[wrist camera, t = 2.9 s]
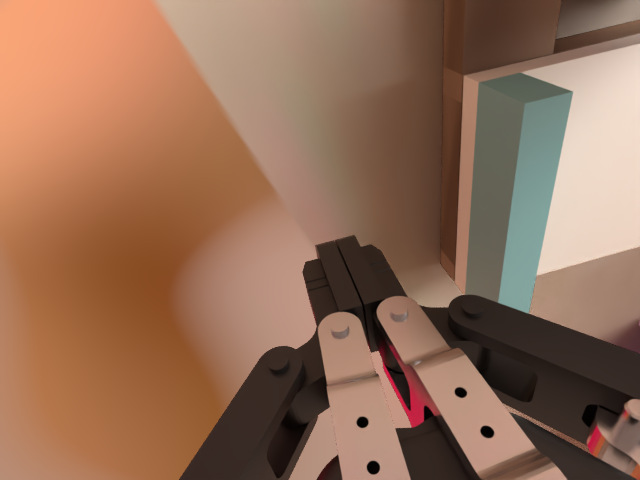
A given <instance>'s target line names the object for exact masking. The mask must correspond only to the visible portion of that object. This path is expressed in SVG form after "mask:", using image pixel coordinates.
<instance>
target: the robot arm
mask: <svg viewBox="0 0 640 480" xmlns="http://www.w3.org/2000/svg"><path fill="white" fill-rule="evenodd" d="M315 247H316V252H317V257H318V259H315V260H312V261H307V262H305V265H304V269H303V276H304V280H305V284H306V288H307V292H308V296H309V300H310V304H311V307H312V311H313V314H314V318H315V321H316V325H317V328H316V332H315V334H314V335H313V337H312V338H311V339H310V340H309V341H308V342H307V343H305V344H304V345H302V346H301V347H299V348H298V349H294V348H292V347H288V346H279V347H275V348H273V349H271V350H269V351H267V352H266V353H265V354H264V355H263V356H262V357H261V358H260V359H259V361H258V362H257V364H256V365H255V367H254V368H253V370H252V371H251V373H250V374H249V376H248V377H247V379H246V380H245V382H244V383H243V385H242V386H241V388H240V389H239V391H238V392H237V394H236V395H235V397H234V398H233V400H232V401H231V403H230V404H229V406H228V407H227V409H226V410H225V412H224V413H223V415H222V416H221V418H220V419H219V421H218V422H217V424H216V425H215V427H214V428H213V430H212V431H211V433H210V434H209V436H208V437H207V439H206V440H205V442H204V443H203V445H202V446H201V448H200V449H199V451H198V452H197V454H196V455H195V457H194V458H193V460H192V461H191V463H190V464H189V466H188V467H187V469H186V470H185V472H184V473H183V475H182V476H181V478H180V479H179V480H288V479H289V478H290V475H291V473H292V471H293V469H294V467H295V465H296V463H297V461H298V459H299V457H300V455H301V453H302V451H303V449H304V447H305V445H306V442H307V440H308V438H309V436H310V434H311V432H312V430H313V428H314V426H315V424H316V421H317V418H318V415H319V414H320V413H322V412H323V411H324V410H326V409H328V408H329V407H330V410H331V416H332V421H333V426H334V432H335V438H336V444H337V450H338V455H337V456H336V457H334V458H333V459H332V460H331V461H330V462H329V463H328V464H327V465H326V467H325V468H324V469H323V470H322V472H321V473H320V475H319V477H318V478H317V480H640V354H638V353H636V352H633V351H630V350H627V349H625V348H622V347H619V346H616V345H614V344H611V343H608V342H605V341H602V340H600V339H597V338H594V337H591V336H589V335H586V334H583V333H580V332H578V331H575V330H572V329H569V328H567V327H564V326H561V325H558V324H556V323H553V322H550V321H547V320H545V319H542V318H539V317H536V316H534V315H531V314H528V313H525V312H523V311H520V310H517V309H514V308H511V307H509V306H506V305H503V304H500V303H498V302H495V301H492V300H489V299H487V298H484V297H481V296H478V295H470V294H469V295H461V296H458V297H456V298H455V299H453V300H452V301H451V302H450V304H449V307H444V308H430V307H424V306H420V305H419V304H418V303H417V302H416V301H414V300H413V299H411V298H408V297H407V295H406V293H405V292H404V290H403V288H402V286H401V285H400V283H399V281H398V279H397V278H396V276H395V274H394V273H393V271H392V269H391V267H390V266H389V264H388V262H387V261H386V259H385V257H384V255H383V253H382V252H381V251H380V250H379V249H377V248H376V247H374V246H373V245H367V246H363V247H360V245H359V243H358V241H357V239H356V237H355V236H354V235H352V236H348V237H345V238H341V239H337V240H335V241H330V242H326V243H322V244H319V245H315ZM368 346H369V348H368ZM369 349H370V351H371V352H375V351H379V353H380V355H381V357H382V362H383V369H384V372H385V373H386V375H387V377H388V379H389V381H390V383H391V385H392V387H393V389H394V391H395V393H396V395H397V397H398V399H399V401H400V403H401V404H402V407H403V408H404V410H405V412H406V414H407V416H408V419H409V421H410V424H411V427H412V428H395V426H394V423H393V420H392V417H391V413H390V410H389V407H388V403H387V400H386V397H385V393H384V390H383V387H382V384H381V381H380V378H379V375H378V374H376V371H375V368H374V364H373V361H372V358H371V354H370V351H369ZM502 403H504V404H506V405H508V406H510V407H512V408H514V409H516V410H518V411H520V412H522V413H524V414H526V415H528V416H530V417H532V418H534V419H536V420H538V421H540V422H542V423H544V424H546V425H548V426H550V427H552V428H554V429H556V430H558V431H560V432H562V433H564V434H566V435H568V436H569V437H571V438H573V439H575V440H577V441H579V442H581V443H583V444H585V445H587V446H588V449H589V451H590V452H591V454H592V455H591V454H590V453H588V452H586V451H584V450H582V449H580V448H579V447H577V446H575V445H573V444H571V443H569V442H567V441H566V440H564V439H562V438H560V437H558V436H556V435H555V434H553V433H551V432H549V431H547V430H545V429H544V428H542V427H540V426H538V425H536V424H534V423H532V422H531V421H529V420H527V419H525V418H523V417H520V416H518V415H516V414H513V413H509V412H508V410H507V409H506V408H505V406H504V405H503V404H502Z"/></svg>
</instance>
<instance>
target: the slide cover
mask: <svg viewBox="0 0 640 480" xmlns="http://www.w3.org/2000/svg"><path fill="white" fill-rule="evenodd" d="M636 247H640V34H636V35H632V36H628V37H623V38H619V39H615V40H611V41H607V42H602V43H598V44H594V45H590V46H586V47H582V48H577V49H573V50H569V51H565V52H561V53H557V54H552V55H548V56H544V57H540V58H536V59H531V60H527V61H523V62H519V63H515V64H511V65H506V66H502V67H498V68H494V69H490V70H485V71H481V72H477V73H473V74H469V75H465V76H464V82H463V105H462V129H461V152H460V175H459V198H458V222H457V245H456V268H455V284H456V285H457V286H458V288H459V289H460V290H461V292H462V293H463V294H464V295H469V294H470V295H478V296H481V297H484V298H487V299H489V300H492V301H495V302H498V303H500V304H503V305H506V306H509V307H511V308H514V309H517V310H520V311H523V312H525V313H528V314H529V310H530V305H531V300H532V295H533V290H534V285H535V280H536V276H537V275H541V274H544V273H548V272H551V271H555V270H559V269H562V268H566V267H569V266H573V265H576V264H580V263H583V262H587V261H590V260H594V259H597V258H601V257H604V256H608V255H611V254H615V253H618V252H622V251H626V250H629V249H633V248H636Z"/></svg>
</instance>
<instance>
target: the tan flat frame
mask: <svg viewBox="0 0 640 480" xmlns="http://www.w3.org/2000/svg"><path fill="white" fill-rule="evenodd" d="M561 1H562V0H444V44H443V115H442V187H441V259H440V264H441V265H442V266H443V268H444V269H445V270H446V272H447V273H448V274H449V276H450V277H451V278H452V280H453V281H455V268H456V245H457V222H458V198H459V175H460V152H461V129H462V105H463V82H464V76H465V75H469V74H473V73H477V72H481V71H485V70H490V69H494V68H498V67H502V66H506V65H511V64H515V63H519V62H523V61H527V60H531V59H536V58H540V57H544V56H548V55H552V54H557V53H561V52H565V51H569V50H573V49H577V48H582V47H586V46H590V45H594V44H598V43H602V42H607V41H611V40H615V39H619V38H623V37H628V36H632V35H636V34H640V20H637V21H633V22H628V23H624V24H620V25H616V26H611V27H607V28H603V29H599V30H594V31H590V32H586V33H582V34H578V35H573V36H569V37H565V38H561V39H556V40H555V38H556V32H557V26H558V20H559V14H560V8H561Z"/></svg>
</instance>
